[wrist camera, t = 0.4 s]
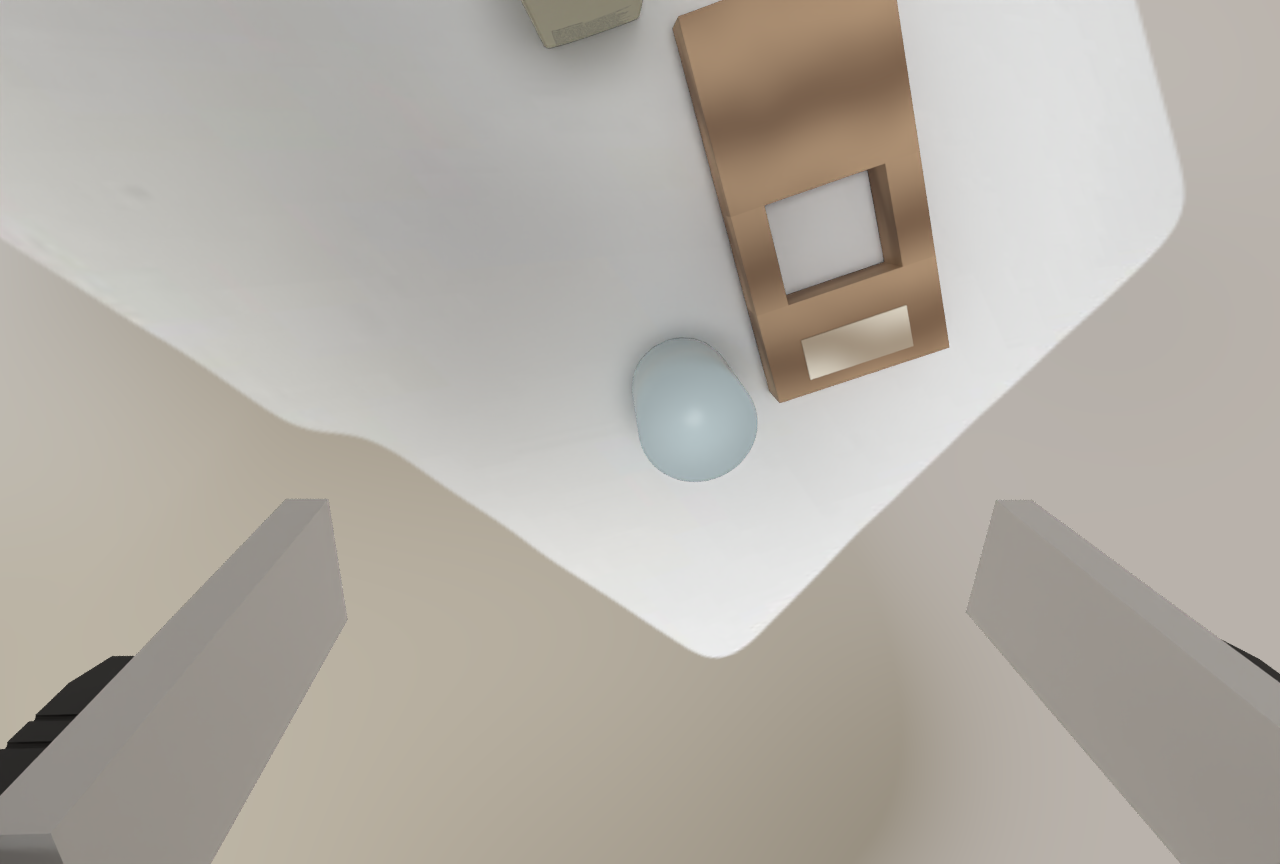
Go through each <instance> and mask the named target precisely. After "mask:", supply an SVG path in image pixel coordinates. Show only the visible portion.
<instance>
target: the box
mask: <svg viewBox="0 0 1280 864" xmlns="http://www.w3.org/2000/svg"><path fill="white" fill-rule="evenodd" d="M642 1H643V0H521V2H522V4H523V6H524V7H525V9H526V11H527V13H528V15H529V17H530V19H531V21H532V23H533V25H534V27H535V29H536V31H537V33H538V35H539V37H540V39H541V41H542V42H543V44H544V46H545V47H546V48H552V47H556V46H559V45H563V44H566V43H570V42H573V41H576V40H579V39H582V38H585V37H588V36H591V35H594V34H597V33H600V32H603V31H605V30H608V29H611V28H614V27H617V26H619V25H622V24H625V23H628V22H630V21H633V20H635V19H637V18H638V17H639V16H640V11H641V6H642Z"/></svg>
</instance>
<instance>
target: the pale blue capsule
mask: <svg viewBox="0 0 1280 864" xmlns="http://www.w3.org/2000/svg"><path fill="white" fill-rule="evenodd" d="M632 393H633V400H634V407H635V413H636V419H637V426H638V432H639V439H640V442H641V446H642V448H643V451H644V453H645V455H646V456H647V458H648V459H649V461H650V462H651V463H652V464H653V465H654V466H655V467H656V468H657V469H658V470H660V471H661V472H663V473H664V474H666V475H668V476H670V477H672V478H675V479H678V480H682V481H689V482H701V481H708V480H711V479H715V478H718V477H720V476H722V475H724V474H726V473H728V472H730V471H731V470H732V469H734V468H735V467H736V466H737V465H739V464H740V463H741V462H742V460H743V459H744V458H745V457H746V455H747V454H748V453H749V451H750V449H751V447H752V445H753V443H754V440H755V437H756V432H757V414H756V409H755V406H754V403H753V401H752V399H751V397H750V395H749V394H748V393H747V391H746V390H745V388H744V387H743V386H742V384H741V383H740V381H739V380H738V379H737V377H736V376H735V374H734V373H733V372H732V370H731V369H730V367H729V366H728V365H727V363H726V362H725V360H724V359H723V358H722V356H721V355H720V354H719V353H718V352H717V351H716V350H715V349H714V348H713V347H711V346H710V345H708V344H706V343H704V342H702V341H699V340H695V339H690V338H677V339H671V340H668V341H665V342H663V343H660V344H658V345H657V346H655V347H654V348H652V349H651V350H650V351H649V352H648V353H647V354H646V355H645V356H644V357H643V358H642V359H641V361H640V362H639V364H638V366H637V368H636V370H635V373H634V376H633V382H632Z"/></svg>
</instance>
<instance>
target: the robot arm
mask: <svg viewBox="0 0 1280 864" xmlns="http://www.w3.org/2000/svg"><path fill="white" fill-rule="evenodd" d="M966 613H967V614H968V615H969V617H970V618H971V619H972V620H973V621H974V622H975V624H976V625H977V626H978V627H979V628H980V629H981V630H982V632H983V633H984V634H985V635H986V636H987V637H988V639H989V640H990V641H991V642H992V643H993V645H994V646H995V647H996V648H997V649H998V650H999V651H1000V653H1001V654H1002V655H1003V656H1004V657H1005V659H1006V660H1007V661H1008V662H1009V663H1010V664H1011V666H1012V667H1013V668H1014V669H1015V670H1016V672H1017V673H1018V674H1019V675H1020V676H1021V677H1022V679H1023V680H1024V681H1025V682H1026V683H1027V684H1028V686H1029V687H1030V688H1031V689H1032V690H1033V691H1034V693H1035V694H1036V695H1037V696H1038V697H1039V698H1040V700H1041V701H1042V702H1043V703H1044V704H1045V706H1046V707H1047V708H1048V709H1049V710H1050V711H1051V713H1052V714H1053V715H1054V716H1055V717H1056V718H1057V720H1058V721H1059V722H1060V723H1061V724H1062V725H1063V727H1064V728H1065V729H1066V730H1067V731H1068V732H1069V734H1070V735H1071V736H1072V737H1073V738H1074V739H1075V740H1076V742H1077V743H1078V744H1079V745H1080V746H1081V748H1082V749H1083V750H1084V751H1085V752H1086V753H1087V755H1088V756H1089V757H1090V758H1091V759H1092V761H1093V762H1094V763H1095V764H1096V765H1097V766H1098V768H1100V770H1101V771H1102V772H1103V773H1104V775H1105V776H1106V777H1107V778H1108V779H1109V780H1110V781H1111V783H1112V784H1113V785H1114V786H1115V787H1116V788H1117V790H1118V791H1119V792H1120V793H1121V794H1122V796H1123V797H1124V798H1125V799H1126V800H1127V801H1128V803H1129V804H1130V805H1131V806H1132V807H1133V808H1134V810H1135V811H1136V812H1137V813H1138V814H1139V816H1140V817H1141V818H1142V819H1143V820H1144V821H1145V823H1146V824H1147V825H1148V826H1149V827H1150V828H1151V830H1152V831H1153V832H1154V833H1155V834H1156V835H1157V837H1159V839H1160V840H1161V841H1162V842H1163V844H1164V845H1165V846H1166V847H1167V848H1168V849H1169V851H1170V852H1171V853H1172V854H1173V855H1174V856H1175V858H1176V859H1177V860H1178V861H1179V862H1180V863H1181V864H1280V674H1279V673H1278V672H1276V671H1275V670H1273V669H1272V668H1271V667H1269V666H1268V665H1267V664H1265V663H1264V662H1263V661H1261V660H1260V659H1258V658H1256V657H1254V656H1252V655H1250V654H1248V653H1247V652H1245V651H1243V650H1241V649H1239V648H1237V647H1235V646H1233V645H1231V644H1229V643H1227V642H1225V641H1223V640H1221V639H1220V638H1218V637H1217V636H1216V635H1214V634H1213V633H1211V632H1210V631H1209V630H1208V629H1206V628H1205V627H1203V626H1202V625H1201V624H1199V623H1198V622H1196V621H1195V620H1194V619H1192V618H1191V617H1190V616H1188V615H1187V614H1186V613H1184V612H1183V611H1182V610H1180V609H1179V608H1178V607H1176V606H1175V605H1174V604H1172V603H1171V602H1169V601H1168V600H1167V599H1165V598H1164V597H1163V596H1161V595H1160V594H1159V593H1157V592H1156V591H1154V590H1153V589H1152V588H1151V587H1149V586H1148V585H1146V584H1145V583H1144V582H1142V581H1141V580H1139V579H1138V578H1137V577H1136V576H1134V575H1133V574H1132V573H1130V572H1129V571H1127V570H1126V569H1125V568H1123V567H1122V566H1121V565H1119V564H1118V563H1117V562H1115V561H1114V560H1112V559H1111V558H1110V557H1108V556H1107V555H1106V554H1104V553H1103V552H1102V551H1100V550H1099V549H1097V548H1096V547H1095V546H1093V545H1092V544H1091V543H1089V542H1088V541H1087V540H1085V539H1084V538H1082V537H1081V536H1080V535H1078V534H1077V533H1076V532H1075V531H1073V530H1072V529H1070V528H1069V527H1068V526H1066V525H1065V524H1064V523H1062V522H1061V521H1060V520H1058V519H1057V518H1056V517H1054V516H1053V515H1051V514H1050V513H1048V512H1047V511H1046V510H1044V509H1043V508H1042V507H1041V506H1039V505H1038V504H1036V503H1035V502H1034V501H1032V500H996V502H995V505H994V509H993V513H992V517H991V520H990V524H989V528H988V532H987V535H986V539H985V543H984V546H983V550H982V554H981V558H980V561H979V565H978V569H977V573H976V576H975V580H974V584H973V588H972V591H971V595H970V599H969V602H968V606H967V610H966ZM346 621H347V613H346V607H345V601H344V595H343V588H342V582H341V576H340V569H339V563H338V557H337V550H336V544H335V538H334V531H333V525H332V519H331V513H330V506H329V500H328V499H285V500H284V501H283V502H282V504H281V505H280V506H279V507H278V508H277V509H276V510H275V511H274V512H273V513H272V514H271V515H270V516H269V517H268V518H267V519H266V520H265V521H264V522H263V523H262V524H261V526H259V528H258V529H257V530H256V531H255V532H254V533H253V534H252V535H251V536H250V537H249V538H248V539H247V540H246V541H245V542H244V543H243V544H242V545H241V546H240V547H239V548H238V549H237V550H236V551H235V553H234V554H232V556H231V557H230V558H229V559H228V560H227V561H226V562H225V563H224V564H223V565H222V566H221V567H220V568H219V569H218V570H217V571H216V572H215V573H214V574H213V575H212V576H211V577H210V578H209V579H208V580H207V581H206V582H205V584H204V585H203V586H202V587H201V588H200V589H199V590H198V591H197V592H196V593H195V594H194V595H193V596H192V597H191V598H190V599H189V600H188V601H187V602H186V603H185V604H184V605H183V606H182V607H181V608H180V610H179V611H178V612H177V613H176V614H175V615H174V616H173V617H172V618H171V619H170V620H169V621H168V622H167V623H166V624H165V625H164V626H163V628H161V629H160V630H159V631H158V632H157V633H156V635H155V636H153V638H152V639H151V640H150V641H149V642H148V643H147V644H146V645H145V646H144V647H143V648H142V649H141V650H140V651H139V652H138V653H137V654H136V655H135V656H112V657H110V658H108V659H107V660H105V661H104V662H102V663H100V664H99V665H97V666H96V667H94V668H92V669H91V670H89V671H88V672H86V673H84V674H83V675H81V676H80V677H78V678H76V679H75V680H73V681H71V682H70V683H68V684H67V685H66V686H65V687H64V688H63V689H62V690H61V691H60V692H59V693H58V694H57V695H56V696H55V697H54V698H53V699H52V700H51V701H50V702H49V703H48V704H47V705H46V706H44V708H42V710H40V711H39V712H38V713H37V714H36V718H35V720H34V721H30V722H28V723H27V724H26V725H25V726H24V727H23V728H22V729H21V730H19V731H18V733H16V734H15V735H14V736H13V737H12V738H11V739H10V740H9V741H8V742H7V747H6V748H5V749H0V864H211V862H212V861H213V859H214V857H215V855H216V853H217V852H218V850H219V848H220V846H221V845H222V843H223V841H224V839H225V837H226V836H227V834H228V832H229V830H230V829H231V827H232V825H233V823H234V821H235V820H236V818H237V816H238V814H239V812H240V811H241V809H242V807H243V805H244V803H245V802H246V800H247V798H248V796H249V794H250V793H251V791H252V789H253V787H254V786H255V784H256V782H257V780H258V778H259V777H260V775H261V773H262V771H263V769H264V768H265V766H266V764H267V762H268V761H269V759H270V757H271V755H272V754H273V752H274V750H275V748H276V746H277V744H278V743H279V741H280V739H281V737H282V736H283V734H284V732H285V730H286V729H287V727H288V725H289V723H290V721H291V719H292V718H293V716H294V714H295V712H296V711H297V709H298V707H299V705H300V704H301V702H302V700H303V698H304V696H305V695H306V693H307V691H308V689H309V687H310V686H311V684H312V682H313V680H314V679H315V677H316V675H317V673H318V671H319V670H320V668H321V666H322V664H323V662H324V661H325V659H326V657H327V655H328V653H329V652H330V650H331V648H332V646H333V644H334V643H335V641H336V639H337V637H338V635H339V634H340V632H341V630H342V629H343V627H344V625H345V623H346Z"/></svg>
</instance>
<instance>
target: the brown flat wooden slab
mask: <svg viewBox="0 0 1280 864" xmlns="http://www.w3.org/2000/svg"><path fill="white" fill-rule="evenodd" d="M673 32H674V36H675V40H676V43H677V47H678V51H679V55H680V58H681V62H682V66H683V70H684V73H685V77H686V81H687V84H688V88H689V92H690V96H691V99H692V103H693V107H694V111H695V114H696V118H697V122H698V126H699V129H700V133H701V137H702V141H703V144H704V148H705V152H706V156H707V159H708V163H709V167H710V171H711V174H712V178H713V182H714V186H715V189H716V193H717V197H718V201H719V204H720V208H721V212H722V216H723V219H724V223H725V227H726V231H727V234H728V238H729V242H730V246H731V249H732V253H733V257H734V261H735V264H736V268H737V272H738V275H739V279H740V283H741V287H742V290H743V294H744V298H745V302H746V305H747V309H748V313H749V317H750V320H751V324H752V328H753V332H754V335H755V339H756V343H757V347H758V350H759V354H760V358H761V362H762V365H763V369H764V373H765V377H766V380H767V384H768V388H769V391H770V392H771V393H772V395H773V396H774V397H775V398H776V399H777V401H778V402H779V403H782V402H785V401H788V400H791V399H794V398H797V397H800V396H803V395H806V394H809V393H812V392H815V391H818V390H821V389H824V388H827V387H831V386H834V385H837V384H840V383H843V382H846V381H849V380H852V379H855V378H858V377H861V376H864V375H867V374H870V373H873V372H876V371H879V370H882V369H885V368H888V367H891V366H894V365H897V364H900V363H903V362H906V361H909V360H912V359H916V358H919V357H922V356H925V355H928V354H931V353H934V352H937V351H940V350H943V349H946V348H949V341H948V335H947V328H946V321H945V315H944V308H943V302H942V295H941V289H940V282H939V275H938V269H937V262H936V256H935V249H934V243H933V236H932V229H931V223H930V216H929V210H928V203H927V196H926V190H925V183H924V177H923V170H922V164H921V157H920V150H919V144H918V137H917V131H916V124H915V118H914V111H913V104H912V98H911V91H910V85H909V78H908V72H907V65H906V58H905V52H904V45H903V39H902V32H901V25H900V19H899V12H898V6H897V0H722V1H719V2H716V3H714V4H711V5H708V6H706V7H703V8H700V9H697V10H695V11H692V12H689V13H687V14H684V15H681V16H678V18H677V20H676V22H675V24H674V27H673ZM865 170H868V175H869V180H870V186H871V191H872V197H873V202H874V208H875V213H876V219H877V224H878V230H879V235H880V241H881V246H882V252H883V257H884V262H882V263H880V264H877V265H874V266H871V267H868V268H865V269H862V270H859V271H856V272H853V273H850V274H847V275H844V276H841V277H838V278H835V279H832V280H829V281H826V282H824V283H821V284H818V285H815V286H812V287H809V288H806V289H803V290H800V291H797V292H794V293H791V294H788V295H786V293H785V289H784V285H783V280H782V276H781V272H780V268H779V264H778V260H777V256H776V252H775V247H774V243H773V239H772V235H771V231H770V227H769V223H768V219H767V214H766V210H765V206H764V205H767V204H770V203H773V202H776V201H779V200H782V199H784V198H787V197H790V196H793V195H796V194H799V193H802V192H804V191H807V190H810V189H813V188H816V187H819V186H822V185H825V184H827V183H830V182H833V181H836V180H839V179H842V178H845V177H848V176H850V175H853V174H856V173H859V172H862V171H865Z"/></svg>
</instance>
